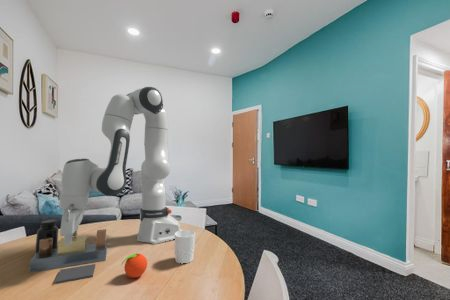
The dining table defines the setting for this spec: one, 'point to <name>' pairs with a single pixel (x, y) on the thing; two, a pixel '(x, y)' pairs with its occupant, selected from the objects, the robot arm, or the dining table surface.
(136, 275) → the clementine
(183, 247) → the white cup
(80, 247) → the lever cap
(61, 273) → the mat
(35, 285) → the dining table surface
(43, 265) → the body
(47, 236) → the supplement bottle
